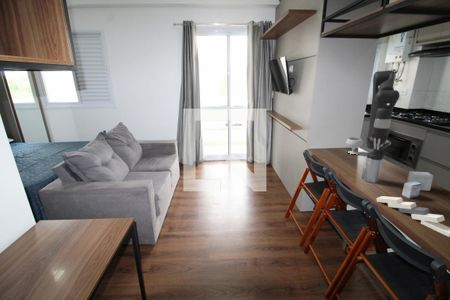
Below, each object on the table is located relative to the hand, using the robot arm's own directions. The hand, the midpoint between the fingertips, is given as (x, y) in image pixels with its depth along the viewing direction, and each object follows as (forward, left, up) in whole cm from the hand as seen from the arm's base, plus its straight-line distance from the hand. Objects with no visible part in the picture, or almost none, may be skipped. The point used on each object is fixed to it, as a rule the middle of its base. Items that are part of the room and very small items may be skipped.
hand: (376, 155), depth 128 cm
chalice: (-62, +66, -27) cm, 95 cm away
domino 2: (+13, 0, -26) cm, 29 cm away
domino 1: (+6, 0, -26) cm, 27 cm away
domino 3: (+18, 0, -26) cm, 32 cm away
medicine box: (+11, +22, -27) cm, 37 cm away
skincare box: (+7, +38, -27) cm, 47 cm away
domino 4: (+25, -1, -26) cm, 36 cm away
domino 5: (+29, -1, -26) cm, 40 cm away
